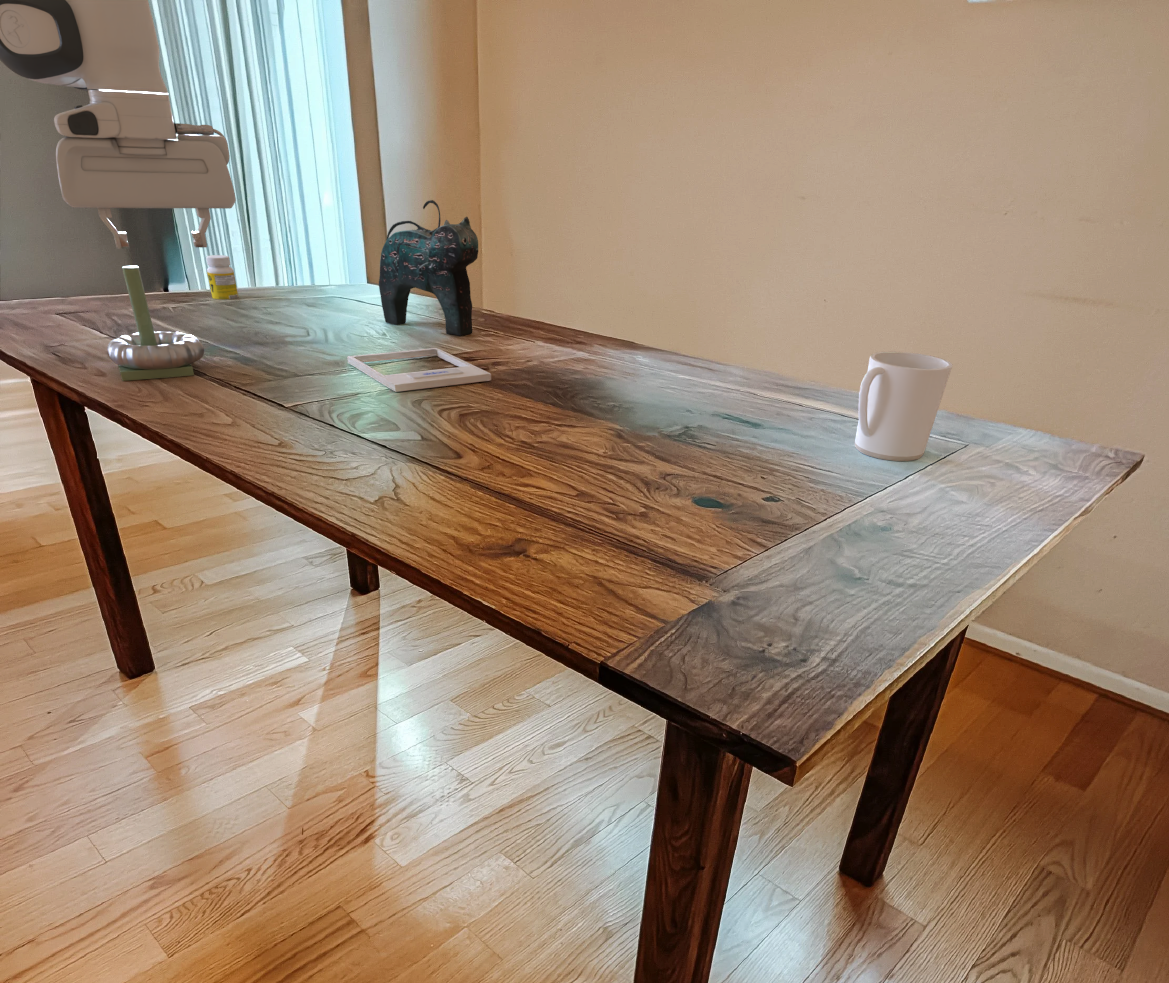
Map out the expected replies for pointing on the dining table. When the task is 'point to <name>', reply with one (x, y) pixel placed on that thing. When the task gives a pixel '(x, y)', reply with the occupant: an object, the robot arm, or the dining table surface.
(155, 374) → the stand
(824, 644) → the dining table surface
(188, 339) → the ring
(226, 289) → the supplement bottle
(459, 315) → the ceramic cat
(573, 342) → the dining table surface
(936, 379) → the mug
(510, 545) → the dining table surface
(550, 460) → the dining table surface
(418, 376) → the photo frame
